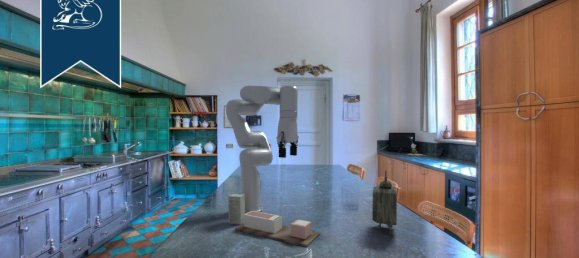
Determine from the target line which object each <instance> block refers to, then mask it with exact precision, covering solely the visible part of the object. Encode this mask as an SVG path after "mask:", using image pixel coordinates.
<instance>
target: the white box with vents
mask: <svg viewBox="0 0 579 258" xmlns="http://www.w3.org/2000/svg"><path fill="white" fill-rule="evenodd" d="M243 224H244V227H248V228H253V229H257V230H262V231H266V232H270V233H276V232H277V231H279V230H280V229H282V225H283V216H281V215H278V214H273V213H271V214H270V213H265V212H262V211H261V212H257V211H250V212H248V213H246V214H244V223H243Z"/></svg>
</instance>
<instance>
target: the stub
mask: <svg viewBox="0 0 579 258" xmlns="http://www.w3.org/2000/svg"><path fill="white" fill-rule="evenodd" d="M312 222H313V221H309V220H304V219H299V218H298V219H295V221H293V222H292V223H290V227H291V236H293V237H297V238H301V239H306V238H307V237H308V236H309V235H310V234H311V231H312Z"/></svg>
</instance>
